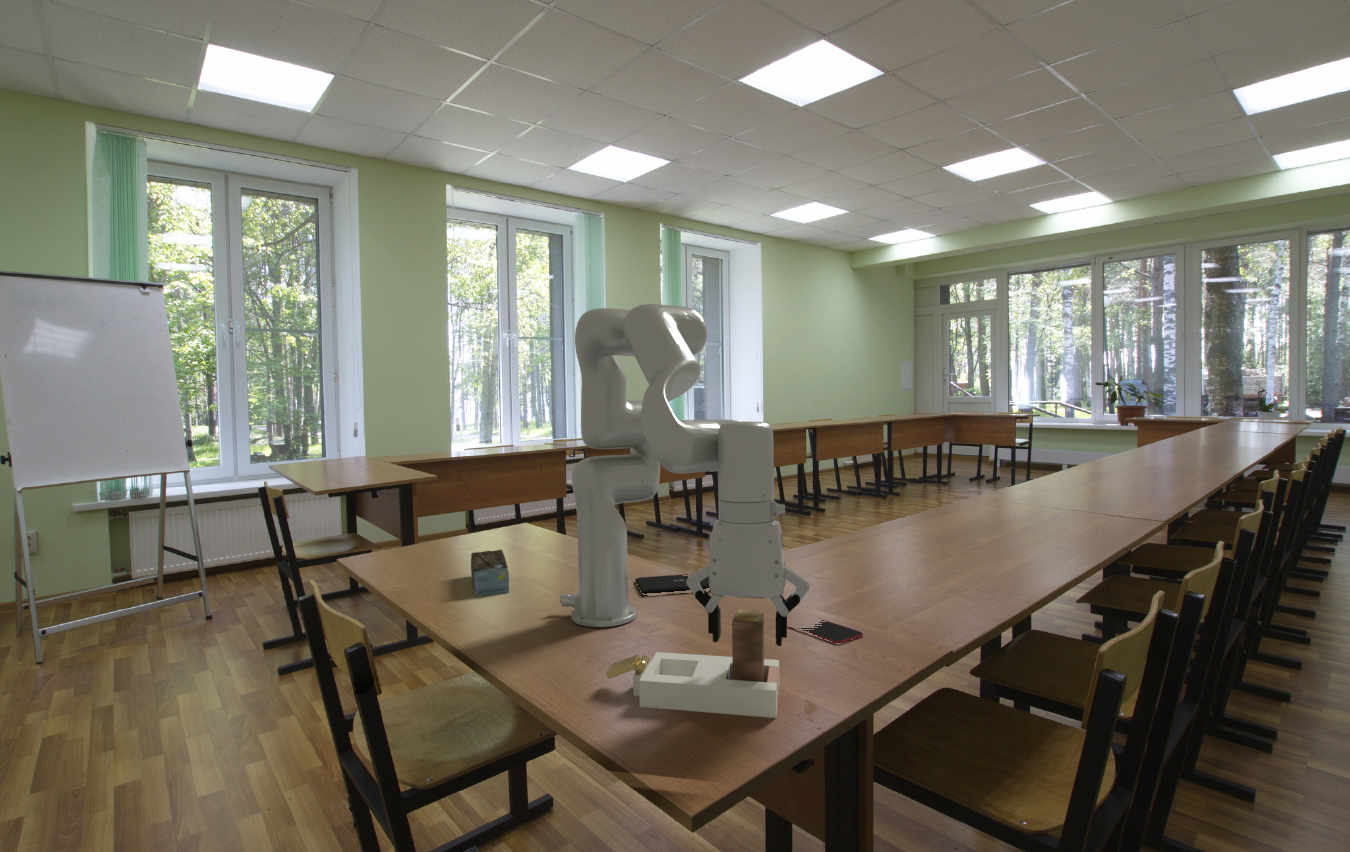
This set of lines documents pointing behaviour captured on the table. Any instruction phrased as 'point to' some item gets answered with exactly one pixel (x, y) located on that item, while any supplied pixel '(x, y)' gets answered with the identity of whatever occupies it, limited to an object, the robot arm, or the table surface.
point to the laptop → (666, 583)
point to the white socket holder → (706, 686)
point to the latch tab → (628, 666)
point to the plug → (748, 645)
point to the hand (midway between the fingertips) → (747, 640)
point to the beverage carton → (489, 573)
